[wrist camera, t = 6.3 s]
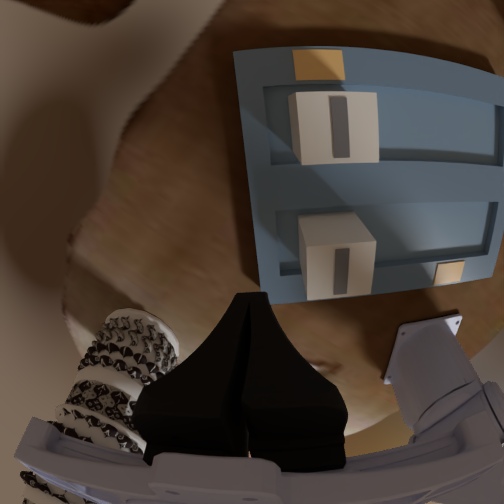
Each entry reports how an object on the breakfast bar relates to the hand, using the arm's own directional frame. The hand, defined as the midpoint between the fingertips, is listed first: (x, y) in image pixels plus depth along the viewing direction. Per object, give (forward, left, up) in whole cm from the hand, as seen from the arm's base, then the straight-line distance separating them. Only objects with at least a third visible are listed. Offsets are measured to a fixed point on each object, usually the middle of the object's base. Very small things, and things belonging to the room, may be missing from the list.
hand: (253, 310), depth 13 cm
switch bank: (+3, -11, -10) cm, 15 cm away
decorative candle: (-11, +13, -10) cm, 20 cm away
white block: (-1, -5, -9) cm, 10 cm away
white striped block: (+7, -5, -9) cm, 12 cm away
